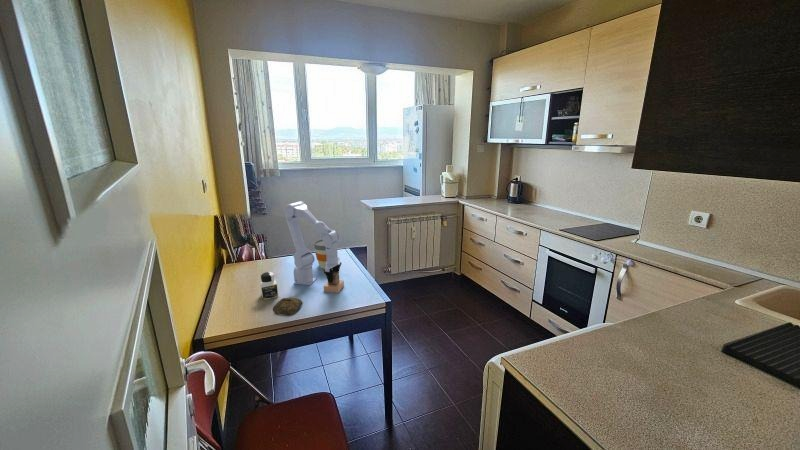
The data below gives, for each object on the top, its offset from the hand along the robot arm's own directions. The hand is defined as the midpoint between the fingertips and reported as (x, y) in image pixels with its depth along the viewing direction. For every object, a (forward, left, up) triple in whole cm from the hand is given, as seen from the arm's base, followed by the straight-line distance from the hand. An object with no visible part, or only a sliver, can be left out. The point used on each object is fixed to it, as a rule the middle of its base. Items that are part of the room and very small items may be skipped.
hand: (333, 279), depth 172 cm
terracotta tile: (0, 0, -5) cm, 5 cm away
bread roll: (-14, -23, -6) cm, 27 cm away
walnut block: (0, 0, -2) cm, 2 cm away
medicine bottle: (-29, -13, -6) cm, 32 cm away
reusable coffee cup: (-16, +28, -6) cm, 33 cm away
